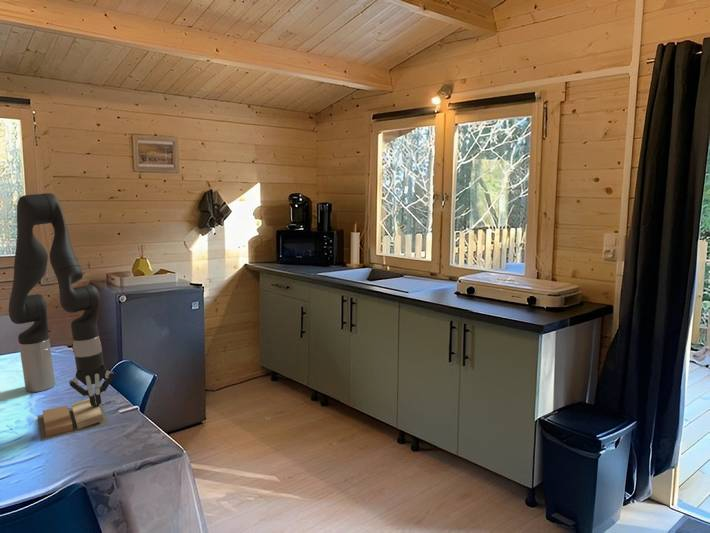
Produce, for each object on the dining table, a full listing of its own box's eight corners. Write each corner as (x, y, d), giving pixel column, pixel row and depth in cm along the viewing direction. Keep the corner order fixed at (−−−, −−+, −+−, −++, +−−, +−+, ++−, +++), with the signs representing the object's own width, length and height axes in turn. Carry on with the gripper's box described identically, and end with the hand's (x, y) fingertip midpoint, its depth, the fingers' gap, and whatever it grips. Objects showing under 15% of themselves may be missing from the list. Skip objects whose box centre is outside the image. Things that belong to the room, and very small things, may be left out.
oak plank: (72, 409, 175) (71, 404, 174) (96, 402, 178) (95, 396, 178) (78, 429, 161) (76, 422, 161) (103, 420, 165) (102, 414, 164)
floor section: (37, 417, 172) (36, 409, 171) (101, 403, 181) (100, 395, 180) (41, 443, 155) (39, 434, 154) (110, 426, 164) (109, 417, 164)
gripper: (110, 344, 174) (117, 396, 177) (62, 353, 167) (71, 407, 170) (113, 350, 168) (121, 404, 171) (64, 360, 161) (73, 416, 164)
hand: (96, 405), depth 171 cm, fingers closed
